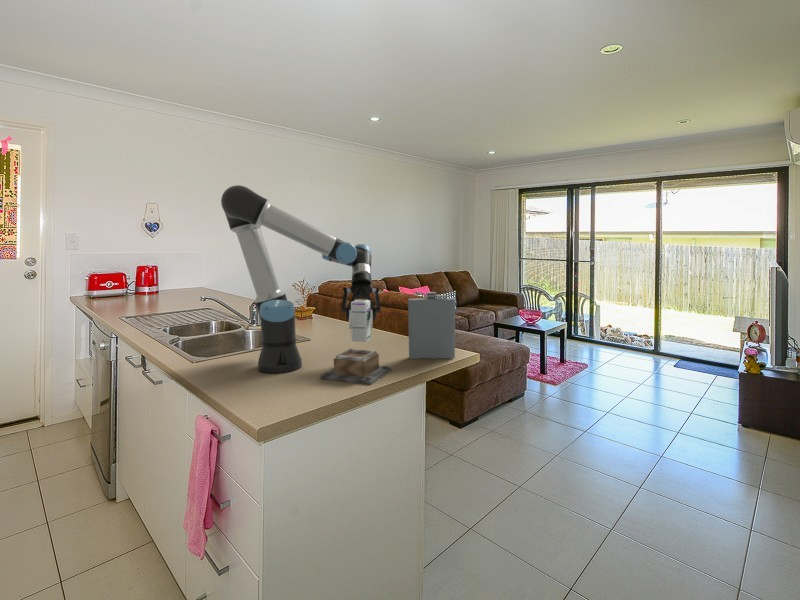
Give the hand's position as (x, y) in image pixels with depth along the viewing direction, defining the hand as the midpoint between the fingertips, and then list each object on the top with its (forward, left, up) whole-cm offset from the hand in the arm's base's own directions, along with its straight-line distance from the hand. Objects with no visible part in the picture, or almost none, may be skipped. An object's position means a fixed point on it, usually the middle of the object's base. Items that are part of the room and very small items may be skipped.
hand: (360, 326), depth 150 cm
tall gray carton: (+20, +19, -14) cm, 31 cm away
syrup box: (-2, +3, -6) cm, 7 cm away
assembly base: (+3, -10, -14) cm, 18 cm away
